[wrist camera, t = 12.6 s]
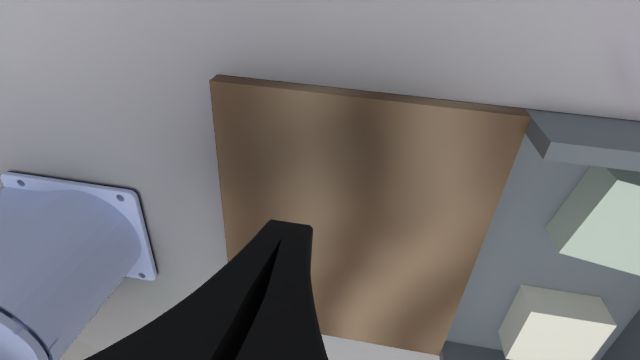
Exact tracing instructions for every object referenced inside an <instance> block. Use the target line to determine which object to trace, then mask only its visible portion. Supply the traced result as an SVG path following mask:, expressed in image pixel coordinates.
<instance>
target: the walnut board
mask: <svg viewBox="0 0 640 360" xmlns="http://www.w3.org/2000/svg"><path fill="white" fill-rule="evenodd" d="M209 82H210V91H211V101H212V111H213V121H214V130H215V140H216V150H217V160H218V169H219V179H220V189H221V199H222V208H223V218H224V228H225V238H226V247H227V257H228V262H229V261H230V260H231V259H232V258H233V257H234V256H235V255H236V254H237V253H239V252H240V251H241V250H242V249H243V248H244V247H245V246H246V245H247V244H248V243H249V242H250V240H251V239H252V238H253V237H254V236H255V235H256V234H257V233H258V232H259V231H260V230H261V229H262V228H263V226H264V225H265V224H266V223H267V222H268V221H269V220H271V219H272V220H279V221H286V222H292V223H299V224H306V225H310V226H311V227H312V228H313V240H312V257H311V272H310V273H311V284H312V291H313V297H314V304H315V309H316V314H317V319H318V323H319V328H320V332H321V334H323V335H328V336H334V337H340V338H345V339H351V340H356V341H362V342H367V343H373V344H378V345H384V346H389V347H395V348H400V349H406V350H412V351H417V352H423V353H428V354H434V355H440V353H441V350H442V348H443V345H444V342H445V340H446V337H447V335H448V332H449V330H450V327H451V324H452V322H453V319H454V317H455V314H456V311H457V309H458V306H459V304H460V301H461V298H462V296H463V293H464V291H465V288H466V285H467V283H468V280H469V278H470V275H471V273H472V270H473V267H474V265H475V262H476V260H477V257H478V254H479V252H480V249H481V247H482V244H483V241H484V239H485V236H486V234H487V231H488V228H489V226H490V223H491V221H492V218H493V216H494V213H495V210H496V208H497V205H498V203H499V200H500V197H501V195H502V192H503V190H504V187H505V184H506V182H507V179H508V177H509V174H510V171H511V169H512V166H513V164H514V161H515V159H516V156H517V153H518V151H519V148H520V146H521V143H522V140H523V138H524V135H525V133H526V130H527V127H528V125H529V122H530V120H531V116H530V114H529V113H528V112H527V111H526V109H523V108H514V107H505V106H496V105H487V104H478V103H469V102H460V101H451V100H442V99H433V98H424V97H415V96H406V95H397V94H388V93H379V92H369V91H360V90H351V89H342V88H333V87H324V86H315V85H306V84H297V83H288V82H279V81H270V80H261V79H252V78H243V77H234V76H225V75H216V76H215V77H214V78H212V79H211V80H210V81H209Z"/></svg>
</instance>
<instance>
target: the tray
mask: <svg viewBox="0 0 640 360" xmlns="http://www.w3.org/2000/svg"><path fill="white" fill-rule="evenodd" d="M526 111H527V112H528V113H529V114H530V116H531V120H530V122H529V125H528V127H527V130H526V133H525V135H524V138H523V140H522V143H521V146H520V148H519V151H518V153H517V156H516V159H515V161H514V164H513V166H512V169H511V171H510V174H509V177H508V179H507V182H506V184H505V187H504V190H503V192H502V195H501V197H500V200H499V203H498V205H497V208H496V210H495V213H494V216H493V218H492V221H491V223H490V226H489V228H488V231H487V234H486V236H485V239H484V241H483V244H482V247H481V249H480V252H479V254H478V257H477V260H476V262H475V265H474V267H473V270H472V273H471V275H470V278H469V280H468V283H467V285H466V288H465V291H464V293H463V296H462V298H461V301H460V304H459V306H458V309H457V311H456V314H455V317H454V319H453V322H452V324H451V327H450V330H449V332H448V335H447V337H446V340H445V342H444V345H443V348H442V350H441V353H440V355H439V356H440V360H510V359H505V355H504V352H503V348H502V344H501V340H500V337H499V333H498V330H499V328H500V326H501V324H502V322H503V320H504V318H505V316H506V314H507V312H508V310H509V308H510V306H511V304H512V302H513V300H514V298H515V296H516V294H517V292H518V290H519V288H520V286H521V285H526V286H533V287H539V288H545V289H552V290H558V291H564V292H571V293H577V294H583V295H590V296H596V297H601V299H602V301H603V303H604V304H605V306H606V308H607V309H608V311H609V313H610V315H611V316H612V318H613V320H614V322H615V323H616V325H617V326H616V328H615V329H614V330H613V332H612V333H611V334H610V336H609V337H608V338H607V340H606V341H605V342H604V344H603V345H602V346H601V347H600V349H599V350H598V351H597V353H596V354H595V355H594V357H593V358H592V359H591V360H640V276H639V275H635V274H632V273H628V272H625V271H621V270H618V269H614V268H611V267H607V266H603V265H600V264H596V263H593V262H589V261H586V260H582V259H579V258H575V257H572V256H568V255H565V254H561V253H558V251H557V249H556V247H555V245H554V243H553V241H552V239H551V237H550V236H549V234H548V232H547V230H546V228H545V227H546V226H547V224H548V223H549V222H550V220H551V219H552V218H553V216H554V215H555V214H556V212H557V211H558V210H559V208H560V207H561V205H562V204H563V203H564V201H565V200H566V199H567V197H568V196H569V195H570V193H571V192H572V191H573V189H574V188H575V187H576V185H577V184H578V183H579V181H580V180H581V179H582V177H583V176H584V174H585V173H586V172H587V170H588V169H589V168H590V166H598V167H606V168H614V169H622V170H630V171H638V172H640V121H632V120H623V119H614V118H605V117H596V116H586V115H577V114H568V113H559V112H550V111H541V110H532V109H526Z"/></svg>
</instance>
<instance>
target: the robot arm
mask: <svg viewBox="0 0 640 360" xmlns="http://www.w3.org/2000/svg"><path fill="white" fill-rule="evenodd" d="M1 181H2V183H3V185H4V187H5V188H3V189H1V190H0V360H59V359H60V357H61V356H62V355H63V354H64V352H65V351H66V350H67V349H68V347H69V346H70V345H71V344H72V342H73V341H74V340H75V339H76V337H77V336H78V335H79V334H80V332H81V331H82V330H83V329H84V327H85V326H86V325H87V324H88V322H89V321H90V320H91V319H92V317H93V316H94V315H95V314H96V312H97V311H98V310H99V309H100V307H101V306H102V305H103V304H104V302H105V301H106V300H107V299H108V297H109V296H110V295H111V294H112V292H113V291H114V290H115V289H116V287H117V286H118V285H119V284H120V282H121V281H122V280H123V279H124V277H130V278H136V279H142V280H147V281H153V280H155V278H156V277H157V271H156V267H155V263H154V259H153V255H152V251H151V247H150V243H149V239H148V235H147V231H146V227H145V223H144V219H143V215H142V211H141V207H140V203H139V199H138V196H137V194H136V193H135V192H134V191H132V190H128V189H121V188H114V187H108V186H101V185H94V184H87V183H81V182H74V181H67V180H60V179H54V178H47V177H40V176H33V175H27V174H20V173H13V172H6V173H4V174H2V175H1ZM121 195H122V196H123V197H122V196H121ZM312 240H313V228H312V227H311V226H310V225H306V224H299V223H292V222H286V221H279V220H272V219H271V220H269V221H268V222H267V223H266V224H265V225H264V226H263V228H262V229H261V230H260V231H259V232H258V233H257V234H256V235H255V236H254V237H253V238H252V239H251V240H250V242H249V243H248V244H247V245H246V246H245V247H244V248H243V249H242V250H241V251H240V252H239V253H237V254H236V255H235V256H234V257H233V258H232V259H231V260H230V261H229V262H228V263H227V264H226V265H225V266H224V267H223V268H222V269H220V270H219V271H218V272H217V273H216V274H215V275H213V276H212V277H211V278H210V279H209V280H208V281H207V282H205V283H204V284H203V285H202V286H201V287H199V288H198V289H197V290H196V291H194V292H193V293H192V294H190V295H189V296H188V297H186V298H185V299H184V300H182V301H181V302H180V303H178V304H177V305H175V306H174V307H173V308H171V309H170V310H168V311H167V312H165V313H164V314H162V315H161V316H159V317H158V318H156V319H155V320H153V321H152V322H150V323H149V324H147V325H145V326H144V327H142V328H141V329H139V330H137V331H136V332H134V333H132V334H130V335H129V336H127V337H125V338H123V339H122V340H120V341H118V342H116V343H114V344H113V345H111V346H109V347H107V348H106V349H104V350H102V351H100V352H98V353H96V354H94V355H92V356H91V357H89V358H86V359H84V360H328V357H327V354H326V351H325V347H324V343H323V340H322V336H321V332H320V328H319V323H318V319H317V314H316V309H315V304H314V297H313V291H312V284H311V273H310V272H311V257H312Z"/></svg>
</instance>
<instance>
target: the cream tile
mask: <svg viewBox="0 0 640 360" xmlns="http://www.w3.org/2000/svg"><path fill="white" fill-rule="evenodd" d="M616 326H617V325H616V323H615V322H614V320H613V318H612V316H611V315H610V313H609V311H608V309H607V308H606V306H605V304H604V303H603V301H602V299H601V297H596V296H590V295H583V294H577V293H571V292H564V291H558V290H552V289H545V288H539V287H533V286H526V285H521V286H520V288H519V290H518V292H517V294H516V296H515V298H514V300H513V302H512V304H511V306H510V308H509V310H508V312H507V314H506V316H505V318H504V320H503V322H502V324H501V326H500V328H499V330H498V333H499V337H500V340H501V344H502V348H503V352H504V355H505V359H510V360H591V359H592V358H593V357H594V355H595V354H596V353H597V351H598V350H599V349H600V347H601V346H602V345H603V344H604V342H605V341H606V340H607V338H608V337H609V336H610V334H611V333H612V332H613V330H614V329H615V328H616Z"/></svg>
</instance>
